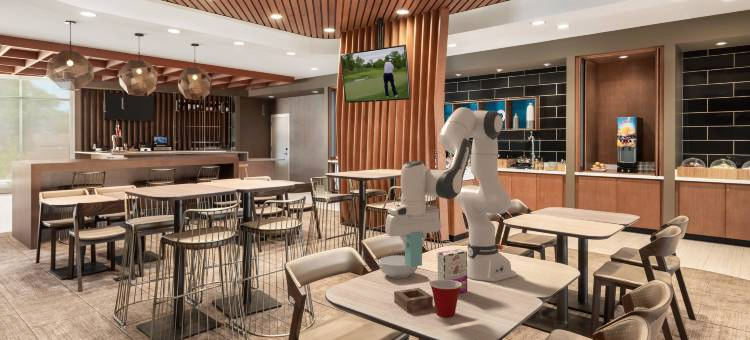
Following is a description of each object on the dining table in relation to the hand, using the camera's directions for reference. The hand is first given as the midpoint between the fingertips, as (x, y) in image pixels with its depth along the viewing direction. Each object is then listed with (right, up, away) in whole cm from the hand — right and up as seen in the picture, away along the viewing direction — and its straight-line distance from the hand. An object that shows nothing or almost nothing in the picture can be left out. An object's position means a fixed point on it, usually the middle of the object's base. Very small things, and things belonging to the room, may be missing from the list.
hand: (413, 246), depth 164 cm
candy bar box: (+17, -21, +17) cm, 32 cm away
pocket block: (0, -22, +2) cm, 22 cm away
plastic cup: (+10, -23, -6) cm, 26 cm away
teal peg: (0, -7, +1) cm, 7 cm away
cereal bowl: (-3, -19, +39) cm, 43 cm away
